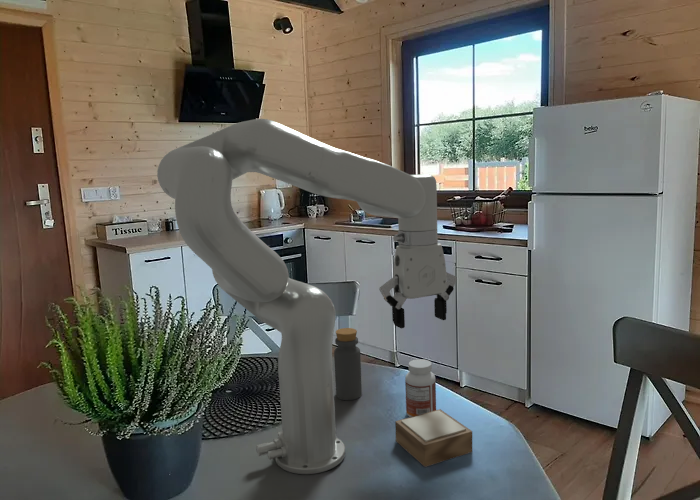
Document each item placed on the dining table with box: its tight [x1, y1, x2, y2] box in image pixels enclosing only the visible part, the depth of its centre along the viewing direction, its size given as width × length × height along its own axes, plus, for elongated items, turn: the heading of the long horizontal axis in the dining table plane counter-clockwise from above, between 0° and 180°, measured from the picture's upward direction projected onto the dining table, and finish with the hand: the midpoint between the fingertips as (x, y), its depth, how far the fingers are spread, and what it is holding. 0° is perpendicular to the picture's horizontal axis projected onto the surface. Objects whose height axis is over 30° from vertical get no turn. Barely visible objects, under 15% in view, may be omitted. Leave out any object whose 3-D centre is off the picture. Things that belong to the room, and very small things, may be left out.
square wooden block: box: [394, 408, 473, 468], centre depth 101 cm, size 10×10×4 cm
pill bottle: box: [404, 358, 437, 418], centre depth 113 cm, size 6×6×11 cm
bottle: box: [333, 327, 363, 401], centre depth 123 cm, size 6×6×15 cm
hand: (420, 322), depth 111 cm, fingers open, 9 cm apart
